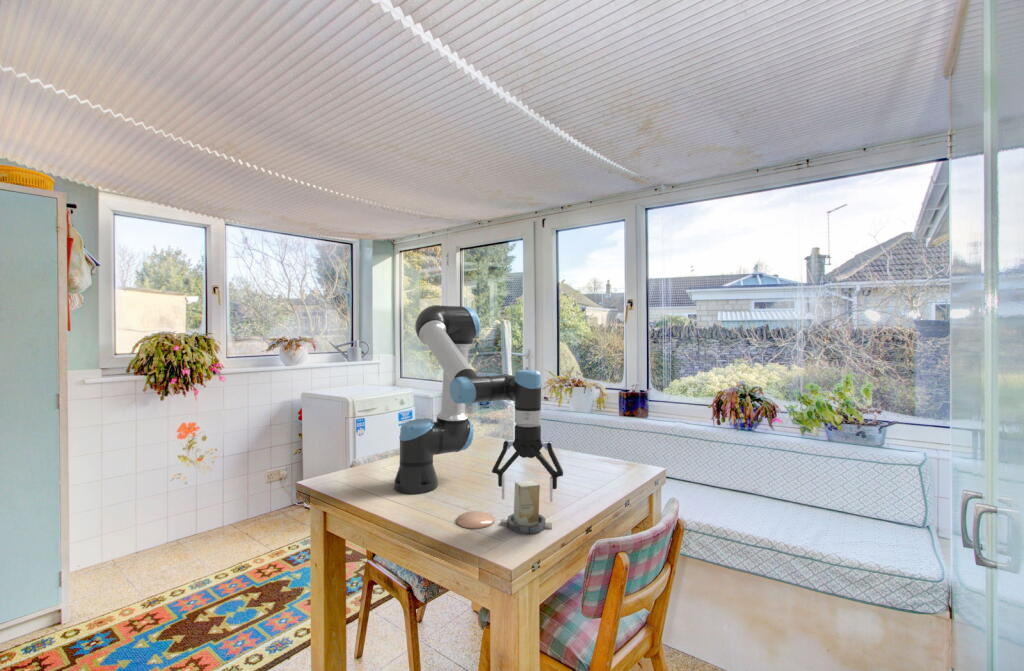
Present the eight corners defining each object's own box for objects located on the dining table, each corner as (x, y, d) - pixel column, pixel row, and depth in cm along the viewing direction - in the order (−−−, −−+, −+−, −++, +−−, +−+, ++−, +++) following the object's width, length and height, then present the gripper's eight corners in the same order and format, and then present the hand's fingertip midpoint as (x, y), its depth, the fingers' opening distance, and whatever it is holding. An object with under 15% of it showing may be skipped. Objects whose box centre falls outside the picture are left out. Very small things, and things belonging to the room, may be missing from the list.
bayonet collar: (498, 532, 125) (498, 525, 125) (503, 516, 135) (503, 510, 135) (550, 535, 123) (551, 529, 123) (552, 519, 133) (552, 513, 133)
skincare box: (519, 530, 126) (519, 486, 126) (512, 524, 130) (513, 482, 130) (539, 527, 128) (540, 484, 128) (533, 521, 132) (533, 479, 132)
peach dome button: (452, 527, 127) (452, 525, 127) (461, 512, 138) (461, 510, 138) (490, 530, 126) (490, 528, 126) (497, 514, 137) (497, 512, 137)
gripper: (482, 425, 127) (481, 501, 127) (571, 428, 124) (571, 506, 123) (487, 420, 134) (486, 492, 134) (571, 423, 131) (571, 496, 131)
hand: (527, 499), depth 129 cm, fingers open, 13 cm apart
